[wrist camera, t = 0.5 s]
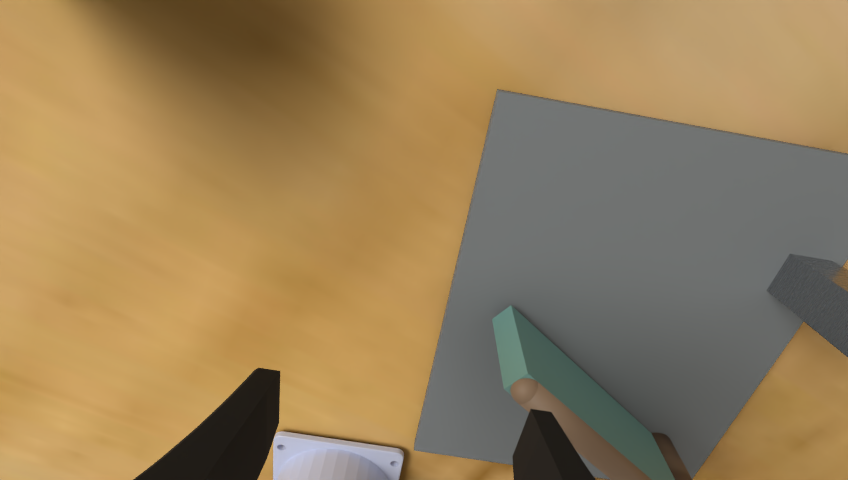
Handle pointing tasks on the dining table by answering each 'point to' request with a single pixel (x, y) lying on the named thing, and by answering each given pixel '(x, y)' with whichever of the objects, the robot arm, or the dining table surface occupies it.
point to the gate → (574, 402)
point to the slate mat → (628, 268)
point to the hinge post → (671, 457)
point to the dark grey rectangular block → (815, 295)
